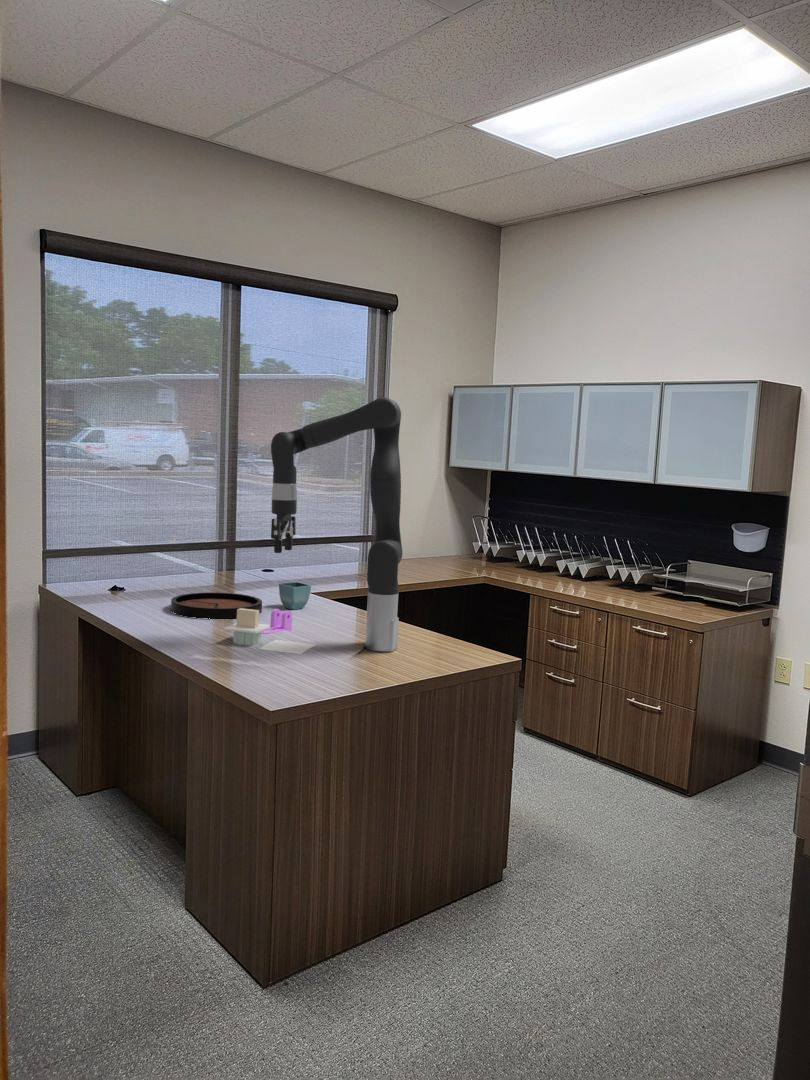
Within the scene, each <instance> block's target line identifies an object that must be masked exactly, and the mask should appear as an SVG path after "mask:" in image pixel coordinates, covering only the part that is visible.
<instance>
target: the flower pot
mask: <svg viewBox="0 0 810 1080" xmlns="http://www.w3.org/2000/svg"><path fill="white" fill-rule="evenodd" d="M278 590H279V591H278V594H279V598H280V602H281V604H282V605H283V607H284V608H285V609H289V610H292V609H294V610H301V609H300V608H303V609H304V608H305V606H306V605H307V604H308V601H309V599H310V595H311V590H312V585H311V584H306V583H303V582H299V581H294V582H293V581H292V582H281V583H278Z"/></svg>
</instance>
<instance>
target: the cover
mask: <svg viewBox="0 0 810 1080" xmlns="http://www.w3.org/2000/svg"><path fill="white" fill-rule="evenodd" d="M259 621H260V614H259V610H253V609H244V608H240V609H237V619H236V622H235V623H233V624H230V625H227V626H225V627H224V628H223V629H224V631H231V632H233V631H239V632H247V633H255V634H256V633H258V632H260V631H263V630H265V629H267V628H269V627H270V626H271V624H264V623H263V624H262V623H260V622H259ZM263 632H264V631H263Z"/></svg>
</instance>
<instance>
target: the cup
mask: <svg viewBox="0 0 810 1080" xmlns="http://www.w3.org/2000/svg"><path fill="white" fill-rule="evenodd" d="M232 632H233V633H232V635H233V636H232V642H233V644H236V645H241V646H253V645H259V644H261V642H262V634H261V631H260V632H258V633H256V634H255V633H247V632H239V631H232Z"/></svg>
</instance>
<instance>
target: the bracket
mask: <svg viewBox="0 0 810 1080" xmlns="http://www.w3.org/2000/svg"><path fill="white" fill-rule="evenodd" d="M292 619H293V614H292V611H290V610H283V612H282V611H281V609H279V608H273V609H272V611H271V613H270V627H269V628H267V629H265V630H263V631H261V635H268V634H269V635H270V634H274V633H279V632H283V631H288V632H292V627H293V626H292V624H293V622H292V621H293V620H292Z"/></svg>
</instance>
